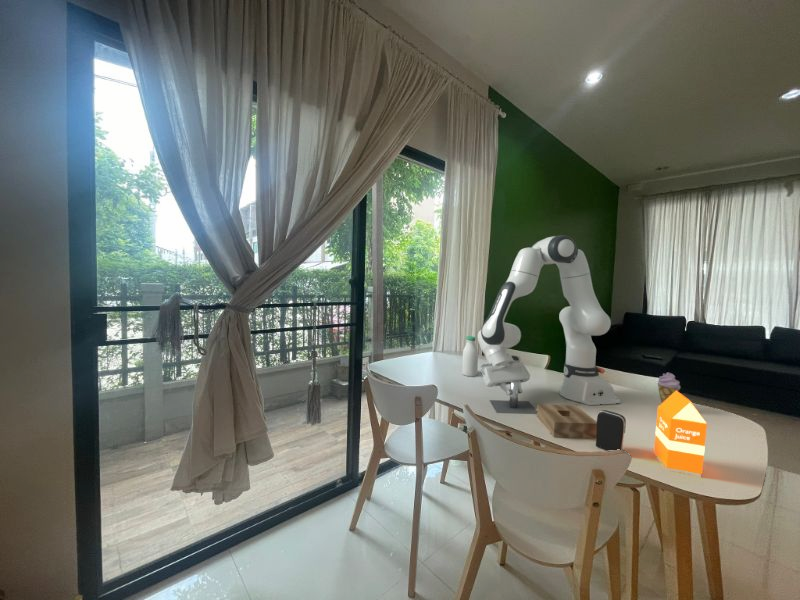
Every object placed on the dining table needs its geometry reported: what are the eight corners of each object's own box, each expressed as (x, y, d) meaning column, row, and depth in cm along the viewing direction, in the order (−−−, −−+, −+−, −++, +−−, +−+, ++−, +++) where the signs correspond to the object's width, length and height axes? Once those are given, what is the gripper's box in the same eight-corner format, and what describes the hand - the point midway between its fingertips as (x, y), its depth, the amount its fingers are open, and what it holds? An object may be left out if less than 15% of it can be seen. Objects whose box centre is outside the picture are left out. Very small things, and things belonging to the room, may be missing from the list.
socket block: (575, 418, 116) (576, 405, 115) (597, 438, 102) (598, 423, 101) (536, 417, 116) (537, 404, 116) (553, 437, 102) (554, 422, 102)
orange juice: (665, 470, 86) (672, 398, 84) (653, 453, 94) (658, 387, 92) (702, 477, 83) (710, 403, 81) (686, 459, 91) (692, 391, 89)
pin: (516, 405, 126) (517, 380, 125) (518, 408, 123) (519, 383, 122) (508, 405, 126) (509, 380, 125) (510, 408, 123) (512, 383, 122)
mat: (528, 402, 130) (528, 401, 130) (540, 415, 118) (540, 414, 118) (489, 401, 131) (489, 400, 131) (496, 413, 119) (496, 412, 119)
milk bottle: (478, 377, 161) (480, 338, 159) (463, 376, 161) (464, 338, 159) (475, 372, 168) (476, 335, 167) (460, 372, 169) (462, 335, 167)
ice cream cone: (674, 409, 125) (678, 372, 124) (680, 415, 120) (684, 376, 119) (653, 405, 128) (656, 369, 127) (658, 411, 123) (662, 374, 121)
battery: (624, 451, 94) (627, 414, 93) (621, 456, 92) (624, 418, 91) (598, 442, 100) (601, 407, 99) (594, 446, 97) (596, 410, 96)
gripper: (482, 360, 126) (497, 393, 117) (522, 356, 133) (539, 387, 125) (475, 368, 130) (489, 400, 122) (514, 364, 138) (530, 394, 129)
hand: (515, 393), depth 123 cm, fingers open, 4 cm apart
